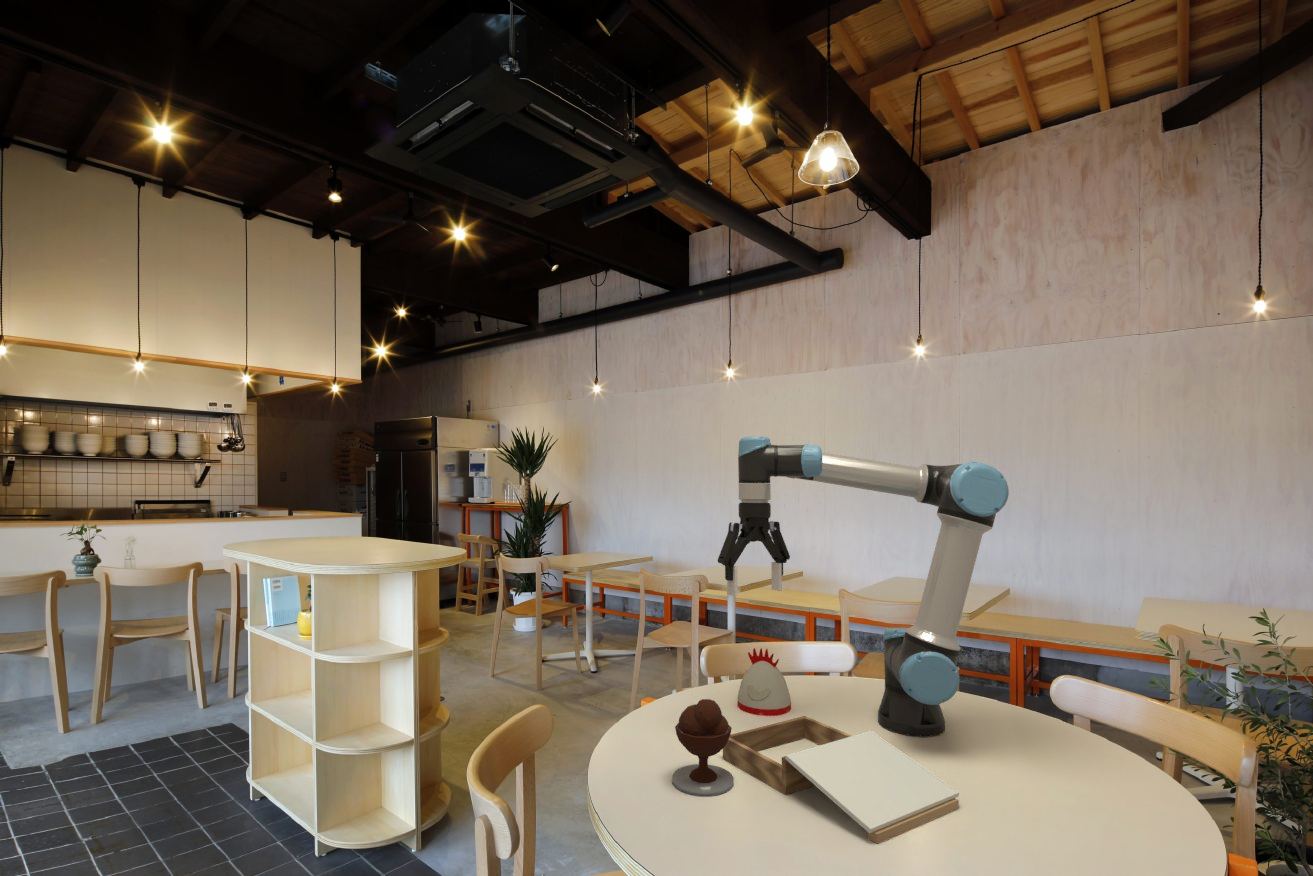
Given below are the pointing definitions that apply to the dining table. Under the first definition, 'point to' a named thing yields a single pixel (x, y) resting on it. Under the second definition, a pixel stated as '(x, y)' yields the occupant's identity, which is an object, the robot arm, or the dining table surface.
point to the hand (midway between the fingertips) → (755, 592)
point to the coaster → (702, 789)
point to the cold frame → (748, 742)
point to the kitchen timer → (763, 688)
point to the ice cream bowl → (703, 735)
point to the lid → (876, 784)
